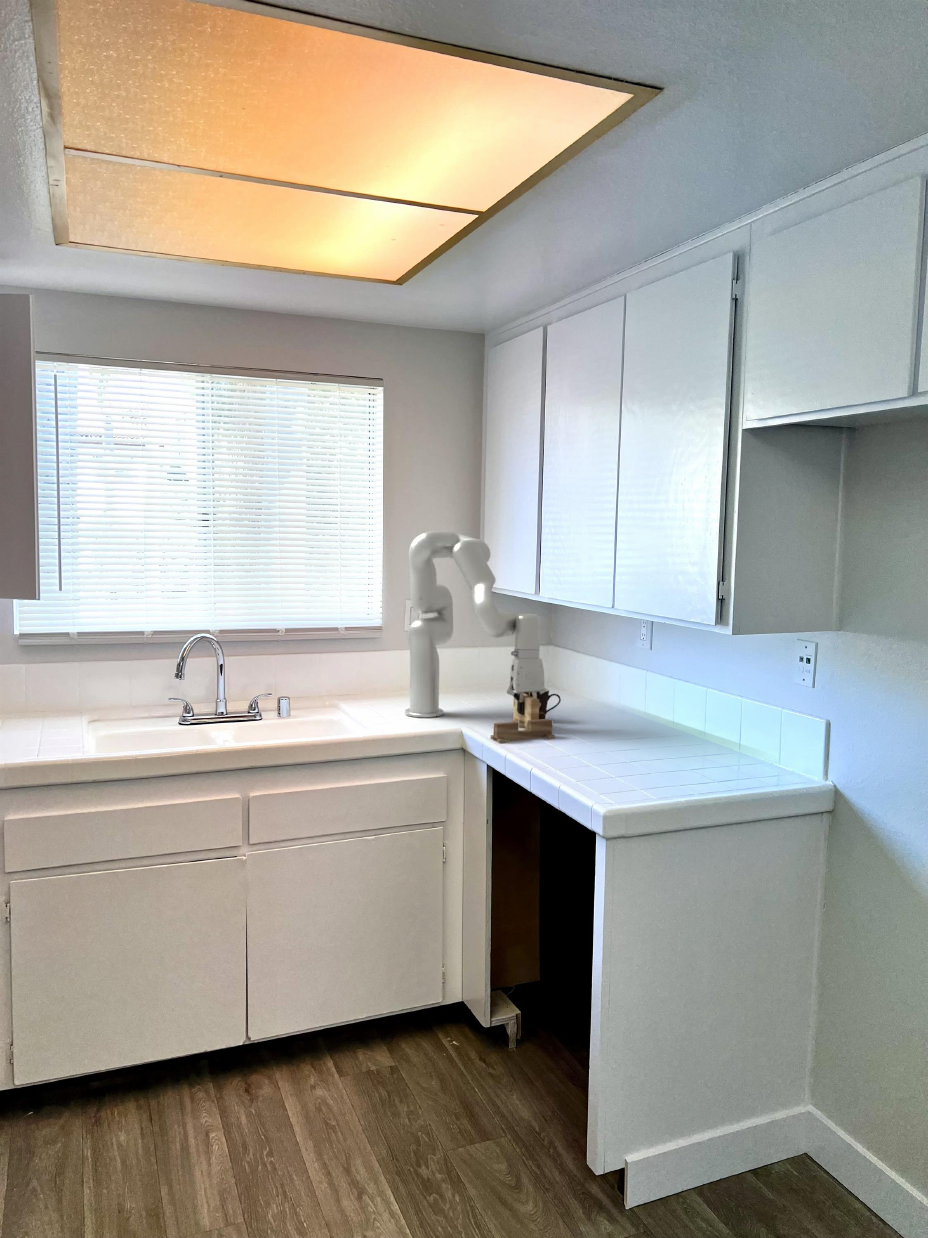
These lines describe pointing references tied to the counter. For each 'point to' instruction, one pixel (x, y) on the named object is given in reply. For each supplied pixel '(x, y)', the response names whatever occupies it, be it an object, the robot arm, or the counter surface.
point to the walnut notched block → (512, 732)
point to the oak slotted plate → (526, 711)
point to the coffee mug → (544, 703)
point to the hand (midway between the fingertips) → (525, 713)
